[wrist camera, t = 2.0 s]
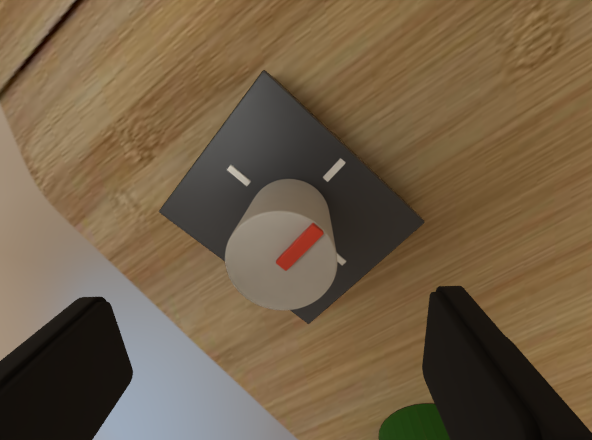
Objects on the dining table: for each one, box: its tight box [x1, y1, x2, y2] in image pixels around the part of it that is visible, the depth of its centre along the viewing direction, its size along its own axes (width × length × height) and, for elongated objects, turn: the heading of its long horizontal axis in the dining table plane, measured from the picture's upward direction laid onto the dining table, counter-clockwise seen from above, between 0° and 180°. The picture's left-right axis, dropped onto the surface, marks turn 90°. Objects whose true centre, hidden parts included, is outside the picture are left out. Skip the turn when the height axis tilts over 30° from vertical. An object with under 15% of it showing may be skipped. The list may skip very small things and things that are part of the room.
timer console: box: [159, 70, 424, 324], centre depth 18 cm, size 12×10×3 cm
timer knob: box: [225, 179, 337, 310], centre depth 14 cm, size 5×5×6 cm
